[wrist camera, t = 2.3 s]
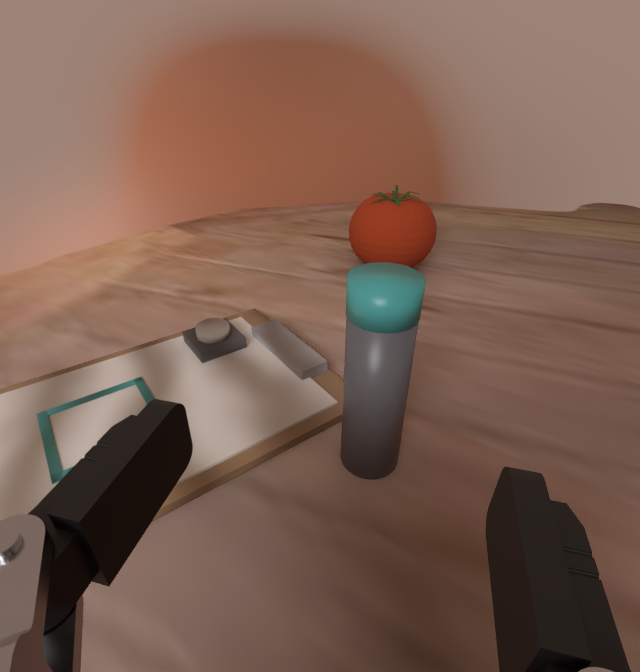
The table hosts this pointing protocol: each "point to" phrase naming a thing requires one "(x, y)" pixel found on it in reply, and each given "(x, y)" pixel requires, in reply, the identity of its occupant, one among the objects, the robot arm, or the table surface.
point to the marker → (378, 363)
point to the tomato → (392, 229)
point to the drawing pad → (175, 386)
